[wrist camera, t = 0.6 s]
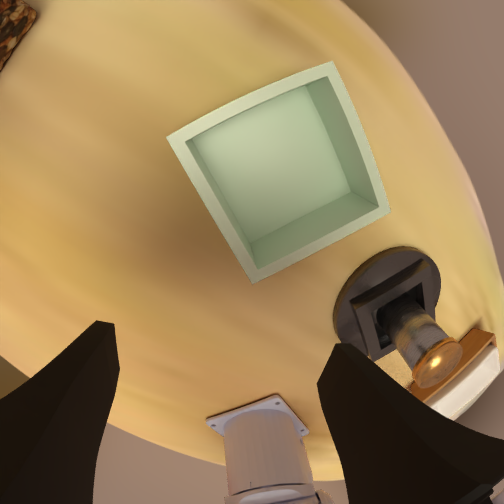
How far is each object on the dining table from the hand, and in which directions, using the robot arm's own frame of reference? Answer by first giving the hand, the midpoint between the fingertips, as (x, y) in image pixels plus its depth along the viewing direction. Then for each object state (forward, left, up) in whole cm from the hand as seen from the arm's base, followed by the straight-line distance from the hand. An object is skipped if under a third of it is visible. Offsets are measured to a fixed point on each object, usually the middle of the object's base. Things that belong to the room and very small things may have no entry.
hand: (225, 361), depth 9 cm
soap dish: (-29, -16, -11) cm, 34 cm away
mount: (-11, -9, -10) cm, 18 cm away
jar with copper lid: (-11, -9, -9) cm, 17 cm away
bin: (+3, -5, -10) cm, 12 cm away
